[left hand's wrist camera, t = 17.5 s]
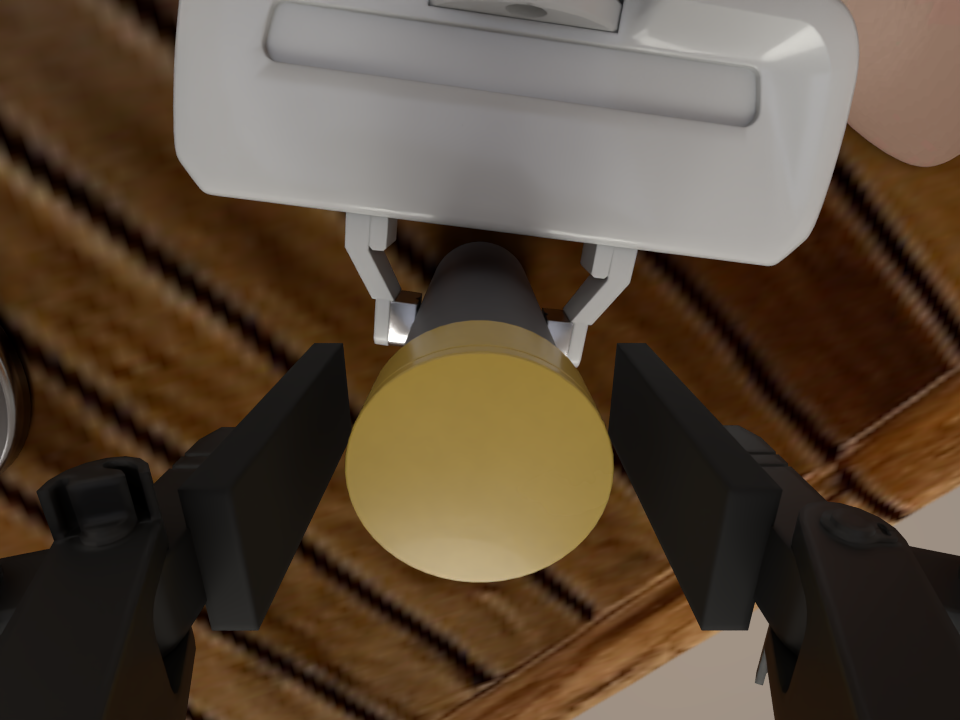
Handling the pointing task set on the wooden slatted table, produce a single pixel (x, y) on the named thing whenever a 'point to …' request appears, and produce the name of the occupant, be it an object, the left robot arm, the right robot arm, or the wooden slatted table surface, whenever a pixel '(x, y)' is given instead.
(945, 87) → the anatomical model
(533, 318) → the dark grey bottle
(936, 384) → the wooden slatted table surface
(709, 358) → the wooden slatted table surface
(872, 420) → the wooden slatted table surface
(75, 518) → the left robot arm
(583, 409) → the lid
